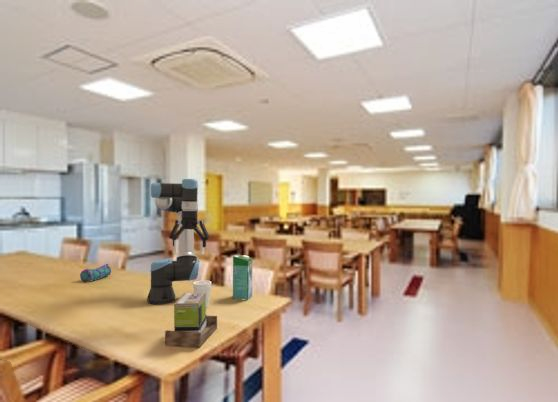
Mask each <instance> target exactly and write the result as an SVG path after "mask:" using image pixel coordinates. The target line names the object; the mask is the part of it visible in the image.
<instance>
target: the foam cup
mask: <svg viewBox="0 0 558 402" xmlns="http://www.w3.org/2000/svg"><path fill="white" fill-rule="evenodd" d="M192 284H193V285H192V286H193V292H194V293H206V309H207V308H209V303H210V296H211V291H212V281H210V280H204V279H202V280H197V281H194V282H193V283H192Z"/></svg>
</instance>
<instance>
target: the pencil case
mask: <svg viewBox="0 0 558 402" xmlns="http://www.w3.org/2000/svg"><path fill="white" fill-rule="evenodd" d="M111 273H112V268H111V266H110V265H109V263H106V264H103V265H101V266H99V267H97V268H93V269H92V268H91V269H90V268H88V267H87V268H85V269H83V270H82V271H81V272H80V273H79V276H80V280H81V281H82V282H83V281H90V282H92V281H91V280H94V281H96V280H95V279H98V278H101V279H103V278H102V277H104V278H106V277H109V276H110V275H111ZM108 275H109V276H108ZM105 276H106V277H105ZM98 280H99V279H98Z"/></svg>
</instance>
